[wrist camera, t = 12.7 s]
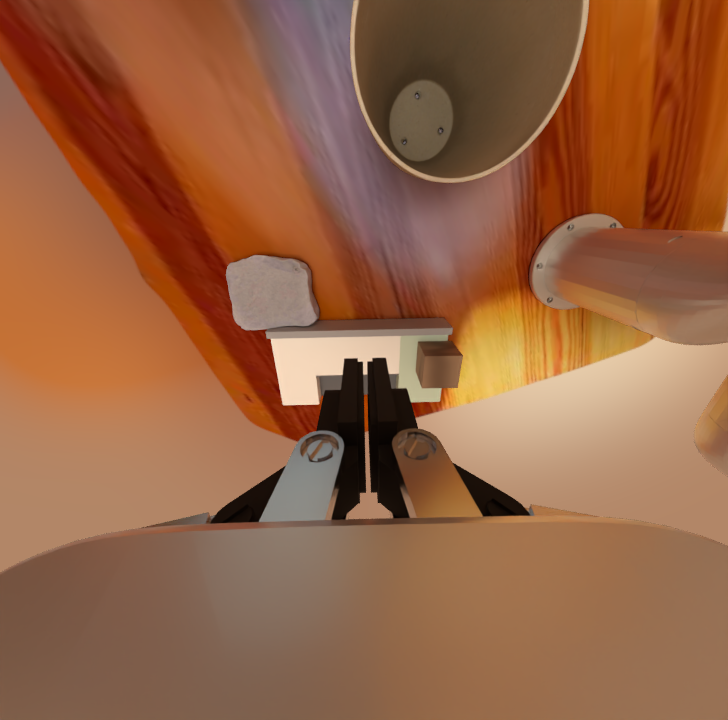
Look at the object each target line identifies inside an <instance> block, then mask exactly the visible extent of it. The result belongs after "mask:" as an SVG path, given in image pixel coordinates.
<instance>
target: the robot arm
mask: <svg viewBox="0 0 728 720" xmlns="http://www.w3.org/2000/svg"><path fill="white" fill-rule="evenodd" d="M537 264H538V265H537ZM536 266H537V267H536ZM529 283H530V287H531V290H532V292H533V294H534V295H535V297H536V298H537V299H538V300H539V301H540V302H541V303H543V304H545V305H547V306H549V307H552V308H555V309H560V310H565V309H574V308H578V307H583V308H585V309H588V310H590V311H593V312H595V313H598V314H600V315H603V316H605V317H608V318H610V319H613V320H615V321H618V322H620V323H623V324H625V325H628V326H630V327H633V328H635V329H638V330H640V331H643V332H646V333H648V334H651V335H653V336H656V337H658V338H661V339H663V340H666V341H670V342H673V343H679V344H685V345H711V344H720V343H726V342H728V232H714V231H687V230H659V229H631V228H624V227H623V226H622V225H621V224H620V222H619V221H617V220H616V219H614V218H613V217H611V216H608V215H605V214H584V215H580V216H576V217H573V218H571V219H569V220H567V221H565V222H563V223H562V224H560V225H558V226H557V227H556V228H555V229H554V230H552V231H551V232H550V233H549V234H548V235H547V236H546V237H545V239H544V240H543V241H542V242H541V244H540V245H539V247H538V248H537V250H536V252H535V254H534V256H533V258H532V262H531V265H530V271H529ZM367 380H368V430H369V453H370V477H371V492H377V495H378V496H377V497H378V503H381V504H382V505H383V506H385V507H386V508H387V509H388V510H389V511H390V519H349V511H350V510H352V509H353V508H354V507H355V506H356V505H357V504H358V503H360V493H366V474H365V429H364V384H363V362H358V358H344V366H343V375H342V384H341V390H325V392H324V396H323V401H322V406H321V411H320V416H319V421H318V426H317V431H316V432H311V433H309V434H307V435H305V436H304V437H303V438H301V439H300V440H299V442H298V443H297V444H296V446H295V448H294V450H293V452H292V454H291V456H290V458H289V460H288V463H287V465H286V466H285V467H283V468H282V469H280V470H279V471H277V472H276V473H274V474H273V475H271V476H270V477H268V478H266V479H265V480H264V481H262V482H260V483H259V484H257V485H256V486H254V487H253V488H251V489H250V490H248V491H247V492H245V493H244V494H242V495H241V496H239V497H238V498H236V499H235V500H233V501H232V502H230V503H229V504H227V505H226V506H225V507H223V508H222V509H221V510H220V511H219V512H218V513H217V514H216V515H214V516H210V515H209V513H203V514H199V515H195V516H191V517H186V518H182V519H178V520H173V521H169V522H164V523H160V524H156V525H151V526H147V527H142V528H138V529H131V530H124V531H118V532H111V533H106V534H102V535H98V536H94V537H90V538H85V539H81V540H78V541H74V542H71V543H68V544H65V545H62V546H59V547H56V548H54V549H51V550H48V551H45V552H42V553H40V554H37V555H35V556H33V557H30V558H28V559H26V560H24V561H21V562H19V563H17V564H16V565H13V566H11V567H9V568H7V569H6V570H4V571H2V572H0V720H728V546H727V545H724V544H722V543H720V542H717V541H714V540H712V539H709V538H706V537H703V536H701V535H697V534H694V533H690V532H687V531H683V530H679V529H676V528H673V527H669V526H664V525H659V524H654V523H649V522H644V521H638V520H631V519H622V518H612V517H598V516H593V515H587V514H581V513H576V512H571V511H565V510H559V509H554V508H548V507H542V506H537V505H531V506H530V508H524V507H523V506H522V504H520V503H519V502H518V501H516V500H515V499H513V498H512V497H510V496H508V495H507V494H505V493H504V492H502V491H500V490H498V489H497V488H495V487H493V486H491V485H490V484H488V483H486V482H485V481H483V480H481V479H479V478H478V477H476V476H475V475H473V474H471V473H469V472H468V471H466V470H464V469H462V468H461V467H459V466H457V465H456V464H454V463H452V461H451V460H450V458H449V456H448V454H447V453H446V451H445V449H444V448H443V446H442V444H441V442H440V441H439V440H438V438H437V437H436V436H434V435H433V434H431V433H430V432H428V431H425V430H422V429H418V427H417V423H416V419H415V415H414V412H413V408H412V405H411V401H410V397H409V394H408V390H407V388H393V389H392V388H391V383H390V377H389V372H388V367H387V361H386V358H372V361H367ZM694 441H695V445H696V447H697V449H698V451H699V452H700V454H701V455H702V456H703V457H704V459H706V461H707V462H709V463H710V464H711V465H712V466H713V467H714V468H716V469H717V470H718V471H720V472H721V473H722V474H724V475H725V476H727V477H728V375H727V376H726V378H725V380H724V381H723V382H722V384H721V385H720V387H719V389H718V390H717V392H716V393H715V394H714V396H713V398H712V399H711V401H710V402H709V404H708V405H707V407H706V409H705V410H704V412H703V413H702V415H701V416H700V418H699V420H698V422H697V424H696V427H695V430H694Z"/></svg>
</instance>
